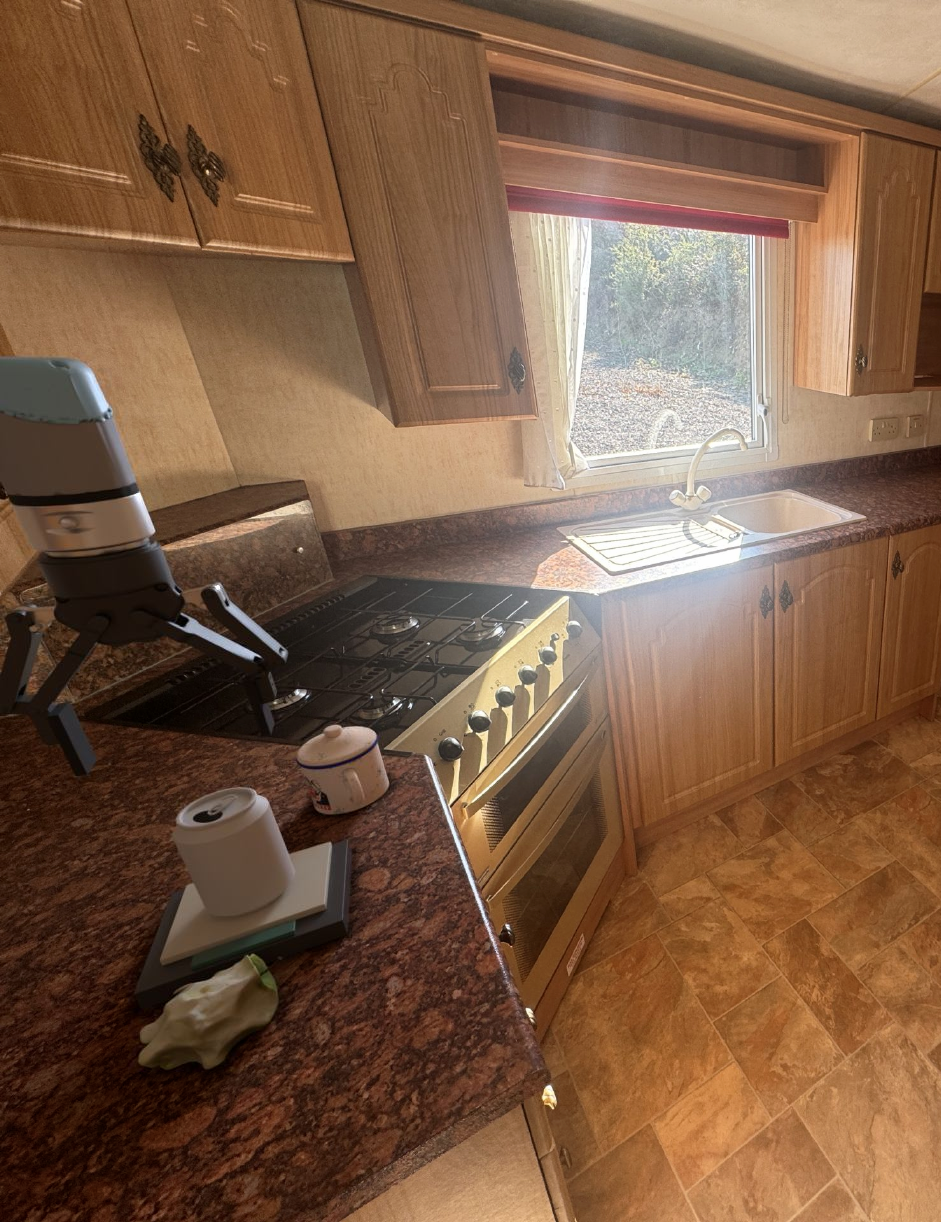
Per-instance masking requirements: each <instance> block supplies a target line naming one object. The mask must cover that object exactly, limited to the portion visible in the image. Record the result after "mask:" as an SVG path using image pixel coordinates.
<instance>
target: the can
mask: <svg viewBox="0 0 941 1222" xmlns="http://www.w3.org/2000/svg"><path fill="white" fill-rule="evenodd" d="M174 821H175V824H176V826H175V827H174V829H173V831H172V834H171V836H172V840H173V842H174V844H175V846H176V848H177V850H178V853H179V855H180V857H181V859H182V861H183V863H184V866H185V867H186V870H187V872H188V874H189V876H190V879H191V880H192V881H191V882H192V883H194V885H195V887H196V889H197V891H198V893H199V896H200V898H201V900H202V902H203V904H204V906H205V908H206V910H207V912H208V913H210V914H212V915H214V916H224V917H225V916H232V917H234V916H240V915H245V914H248V913H251V912H254V911H257V910H259V909H261V908H263V907H265V906H267V905H268V904H270V903H271V902H273V901H274V900H276V899H277V898H278V897H279V896H280V895H281V894H282V893H283V892H284V891H285V889H286V888H287V887H288V886H289V885H290V883H291V882H292V880H293V879H294V875H295V869H294V867H293V864H292V862H291V859H290V856H289V854H290V853H289V850H288V849H287V846H286V844H285V841H284V838H283V836H282V833H281V830H280V828H279V825H278V823H277V820H276V818H275V815H274V813H273V810H272V807H271V805H270V801H268V799H267V797H264V796H262V795H260V794H257V792H256V790H255V789H253V788H252V787H251V788H250V787H242V786H239V787H230V788H225V789H221V790H217V791H214V792H212V793H209V794H206V795H204V796H202V797H200V798H198V799H195V800H194V801H192V802H190V803H189V804H187V805H185V806H184V807H183V809H182V810H181V811H179V813H177V815H176V817H175V820H174Z"/></svg>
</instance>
